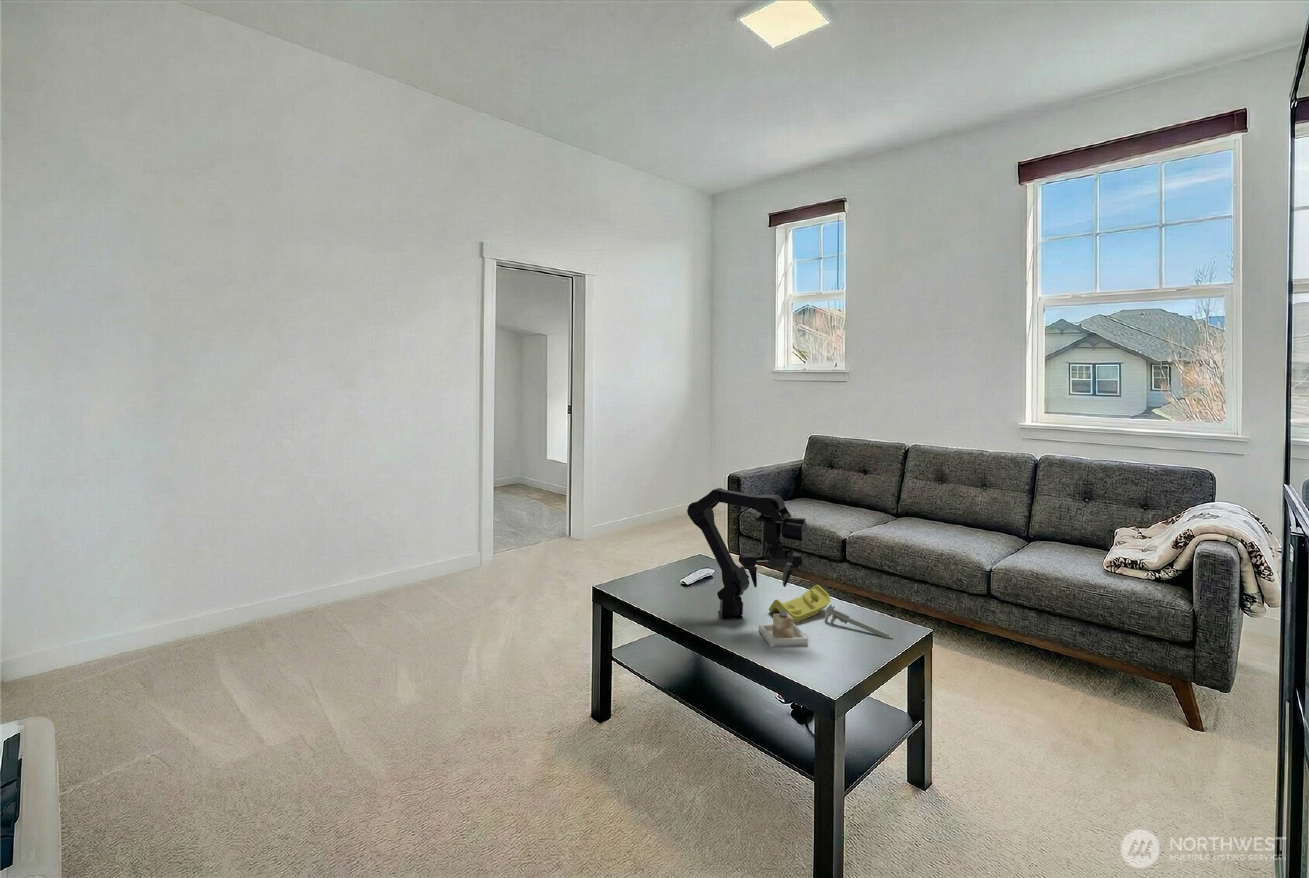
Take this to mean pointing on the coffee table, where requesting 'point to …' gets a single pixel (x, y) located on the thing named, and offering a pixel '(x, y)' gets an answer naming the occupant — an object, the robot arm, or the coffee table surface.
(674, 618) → the coffee table surface
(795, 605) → the plastic component
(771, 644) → the housing tray
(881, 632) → the caliper
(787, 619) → the block
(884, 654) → the coffee table surface
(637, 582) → the coffee table surface
